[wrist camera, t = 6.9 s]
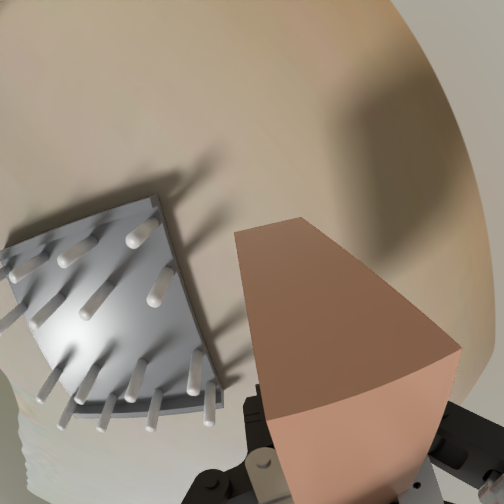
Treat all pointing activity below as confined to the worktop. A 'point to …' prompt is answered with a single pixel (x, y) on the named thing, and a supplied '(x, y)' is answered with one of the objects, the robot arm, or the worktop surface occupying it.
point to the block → (341, 367)
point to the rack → (113, 317)
